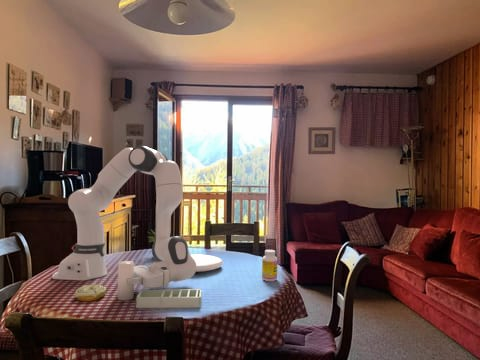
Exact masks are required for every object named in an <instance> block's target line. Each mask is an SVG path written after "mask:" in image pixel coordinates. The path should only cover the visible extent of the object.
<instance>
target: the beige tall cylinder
mask: <svg viewBox="0 0 480 360" xmlns="http://www.w3.org/2000/svg"><path fill="white" fill-rule="evenodd" d="M134 266H135V261H132V260H124V261H123V260H122V261H119V262H117V300H119V301H129V300H132V299H134V296H135V292H134V290H135V288H134V287H135V286H134V285H135V284H128V283H127V279H129V278H134Z"/></svg>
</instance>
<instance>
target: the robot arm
mask: <svg viewBox="0 0 480 360" xmlns="http://www.w3.org/2000/svg"><path fill="white" fill-rule="evenodd" d="M137 171H138V172H141V173H143V174H146V175H151V176H153V177H154V178H155V193H156V194H155V195H156V196H155V200H156V203H155V214H154V215H155V218H154V219H155V220H154V222H155V223H154V231H155V235H154V238H155V239H154V242H152V243H153V244H152V245H153V247H152V248H151V254H152V257H153V258H154V260H155V261H154V262H152V263H150V266H146V265H143V264H142V265H134V278H129V279H127V283H128V284H134V285H141V286H143V287H144V288H147V289H154V288H155V289H157V288H160V287H163V288H167V287H169V285H170V283H171V282H173V283H174V282H175V283H177V282H182V281H185V280H188V279H191V278H192V277H193V276H194V275H195V274H196V273H197V272H196V262H195V260H194V259H193V258H192V257H191V255H190V254H191V253H190V250H189V246H188V242H187V240H186V239H185V238H184V237H182V236H179V235H176V236H175V235H174V236H171V216H172V214H173V213H174V211H175V210H176V209H177V208H178V207H179V205H180V204H181V202H182V201H183V193H184V191H183V180H182V175H181V171H180V167H179V165H178V164H177V162H175V161H173V160H169V159H168V157H167V156H166V155H165V154H163V153H161V152H160V151H158V150H156V149H153V148H150V147H148V146H145V145H137V146H134V147H125V148H124V149H122V150H120V151H119V152H118V153H117V154H116V155H115V156H113V158H112V159H111V160H109V162H108V163H107V164H106V165H105V166H104V167H103V168H102V169H101V170H100V172H99V173H97V179H96V181H95V183H94V184H93V185H92V186H91V187H89V188H88V187H87V188H81V189H78V190H75V191H74V192H72V193H71V194H70V195H69V196H68V200H67V204H68V207H69V209H70V210H71V212H72V213H73V215H74V218H75V223H76V229H77V243H74V245H72V246H71V250H72V251H73V252H71V253H70V254H69V255H68V256H66V257H65V258H63V259H62V261H60V263H59V265H58V269H57V270H56V272H54V273H53V274H52V277H51V278H52V279H53V280H67V281H68V280H69V281H89V280H92V279H97V278H102V277H104V276H106V275H108V270H107V266H106V261H105V260H106V259H105V254H106V243H105V226H104V225H105V224H104V223H103V222H102V221H101V216H100V212H102V211H104V210H105V209H107V208H108V207H109V206H111V204H112V202H113V199H114V197H115V196H116V195H117V193H118V192H119V190H120V189H121V188H122V187H123V186H124V185H125V184H126V183H127V181H128V180H129V179H130V178H131V177H132V176H133V175H134V173H136V172H137Z"/></svg>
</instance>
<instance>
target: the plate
mask: <svg viewBox="0 0 480 360" xmlns="http://www.w3.org/2000/svg"><path fill="white" fill-rule="evenodd" d="M190 255H191V257H192V258H193V259H194V260H195V262H196V272H195V273H200V272H208V271H213V270H217V269H219V268H220V267H222V266H223V260H222V258H221V257H217V256H214V255H209V254H200V253H194V254H193V253H192V254H191V253H190Z"/></svg>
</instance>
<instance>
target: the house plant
mask: <svg viewBox="0 0 480 360" xmlns="http://www.w3.org/2000/svg"><path fill="white" fill-rule="evenodd" d="M149 230H150V231H151V232H152V233H151V232H148V234H149V235H150V236H147V238H149V239H147V240H148V243H151V242H152V243H154V240H155V232H154V230H152V229H149ZM152 247H153V244H152Z"/></svg>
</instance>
